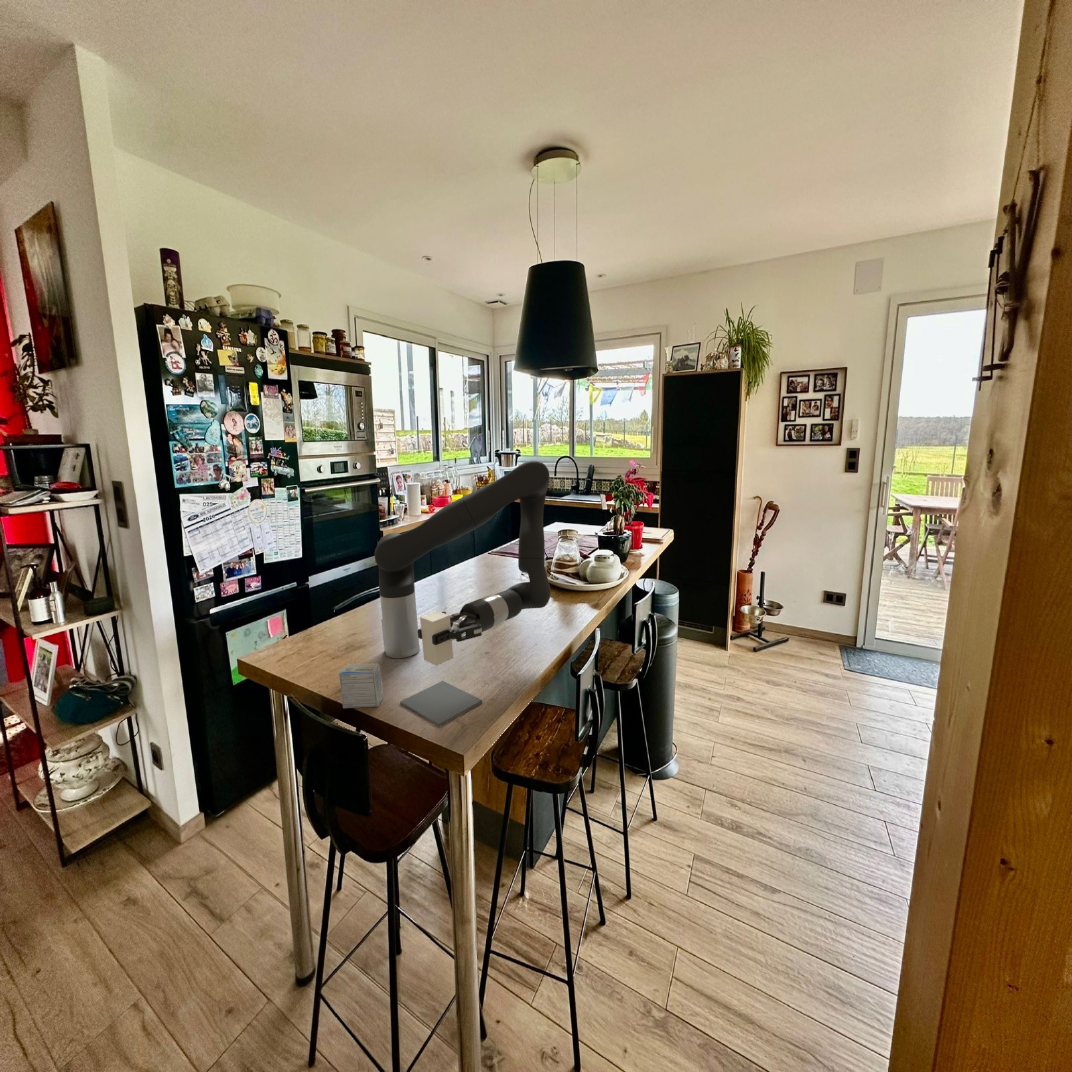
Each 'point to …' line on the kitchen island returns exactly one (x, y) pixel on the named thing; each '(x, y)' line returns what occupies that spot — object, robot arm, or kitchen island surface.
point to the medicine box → (361, 685)
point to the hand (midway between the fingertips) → (426, 637)
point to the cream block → (429, 627)
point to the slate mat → (441, 703)
